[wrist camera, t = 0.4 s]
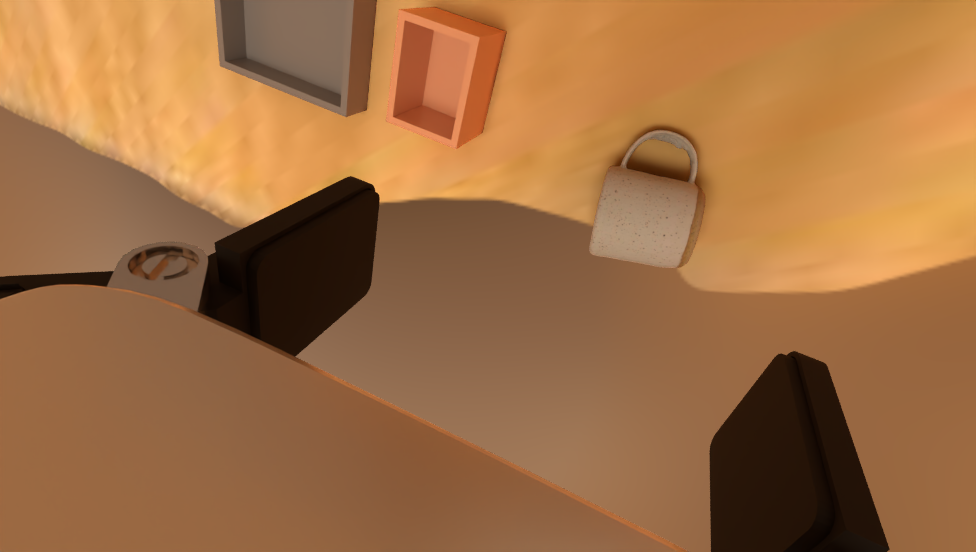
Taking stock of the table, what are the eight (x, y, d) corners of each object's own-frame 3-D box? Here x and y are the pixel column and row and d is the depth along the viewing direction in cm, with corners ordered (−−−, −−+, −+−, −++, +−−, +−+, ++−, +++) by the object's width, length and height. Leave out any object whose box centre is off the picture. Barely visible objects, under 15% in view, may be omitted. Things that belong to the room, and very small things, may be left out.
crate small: (434, 7, 42) (399, 9, 37) (506, 31, 41) (479, 37, 36) (418, 107, 47) (386, 121, 43) (482, 132, 46) (455, 149, 41)
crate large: (238, -88, 45) (206, -93, 42) (380, -41, 42) (356, -43, 39) (246, 61, 52) (219, 66, 50) (366, 109, 50) (346, 117, 47)
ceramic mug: (686, 250, 44) (683, 290, 38) (597, 232, 47) (581, 267, 40) (720, 134, 39) (723, 159, 33) (618, 120, 41) (603, 141, 35)
